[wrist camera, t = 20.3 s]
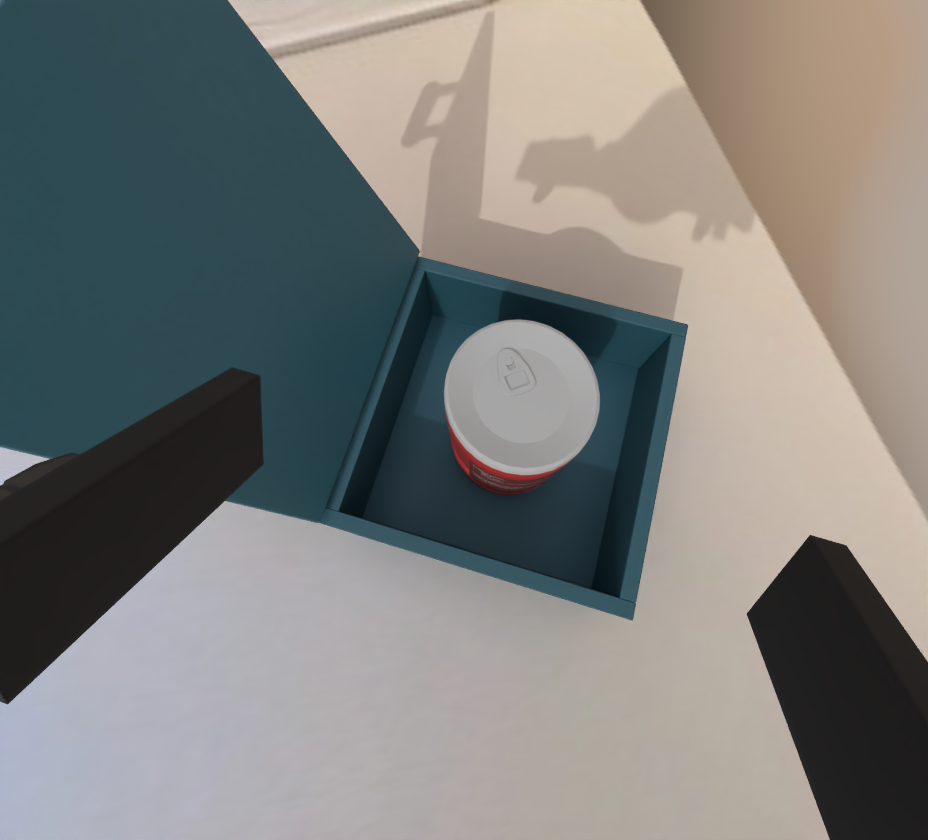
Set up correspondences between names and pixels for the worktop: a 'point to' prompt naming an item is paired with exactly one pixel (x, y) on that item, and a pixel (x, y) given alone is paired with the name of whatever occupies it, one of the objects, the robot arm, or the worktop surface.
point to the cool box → (557, 499)
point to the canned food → (519, 404)
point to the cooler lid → (181, 238)
